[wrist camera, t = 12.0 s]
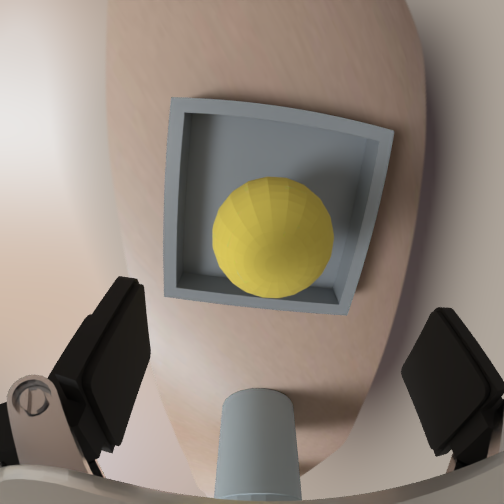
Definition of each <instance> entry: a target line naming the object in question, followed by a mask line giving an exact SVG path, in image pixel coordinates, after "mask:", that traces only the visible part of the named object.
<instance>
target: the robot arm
mask: <svg viewBox="0 0 504 504" xmlns="http://www.w3.org/2000/svg"><path fill="white" fill-rule="evenodd" d="M150 354H151V349H150V341H149V333H148V324H147V314H146V304H145V292H144V286H143V285H142V284H139V282H138V280H137V279H135V278H128V277H122V276H119V277H118V278H117V279H116V280H115V282H114V283H113V285H112V286H111V287H110V289H109V290H108V292H107V293H106V294H105V296H104V297H103V299H102V300H101V302H100V303H99V305H98V306H97V308H96V309H95V311H94V312H93V314H91V315H88V316H87V317H86V318H85V319H84V321H83V322H82V324H81V325H80V327H79V329H78V330H77V332H76V333H75V335H74V336H73V338H72V339H71V341H70V342H69V344H68V345H67V347H66V349H65V350H64V352H63V353H62V355H61V357H60V358H59V360H58V361H57V363H56V365H55V366H54V368H53V370H52V372H51V373H50V375H49V377H48V378H45V377H43V376H39V375H28V376H25V377H23V378H20V379H19V380H17V381H16V382H15V383H14V384H13V385H12V386H11V388H10V389H9V392H8V395H7V402H5V403H2V404H0V504H504V399H502V397H501V396H502V395H503V394H504V381H503V380H502V378H501V376H500V375H499V373H498V372H497V370H496V369H495V367H494V366H493V364H492V363H491V361H490V360H489V358H488V357H487V355H486V354H485V352H484V351H483V349H482V348H481V346H480V345H479V344H478V342H477V341H476V339H475V338H474V337H473V336H472V334H471V332H470V331H469V330H468V328H467V327H466V326H465V324H464V323H463V322H462V320H461V319H460V318H459V316H458V315H457V314H456V313H455V311H454V310H453V309H452V308H442V307H441V308H440V307H438V308H436V309H435V310H434V312H432V313H431V314H430V316H429V318H428V320H427V322H426V324H425V326H424V328H423V330H422V332H421V334H420V336H419V338H418V340H417V341H416V343H415V345H414V347H413V349H412V351H411V353H410V354H409V356H408V358H407V359H406V361H405V363H404V365H403V367H402V371H401V374H402V378H403V380H404V382H405V384H406V387H407V389H408V392H409V394H410V397H411V399H412V401H413V404H414V406H415V409H416V411H417V414H418V416H419V419H420V422H421V424H422V427H423V429H424V432H425V435H426V437H427V440H428V443H429V445H430V447H431V449H433V450H434V453H435V456H440V455H444V454H447V453H448V452H449V451H450V450H452V451H453V454H452V457H451V460H450V463H449V466H448V469H447V472H446V474H443V475H440V476H437V477H434V478H430V479H427V480H423V481H420V482H416V483H412V484H409V485H405V486H400V487H396V488H392V489H387V490H382V491H377V492H372V493H366V494H359V495H353V496H346V497H338V498H328V499H317V500H303V501H302V500H301V501H242V500H227V499H216V498H207V497H198V496H191V495H183V494H177V493H170V492H165V491H159V490H154V489H150V488H145V487H140V486H136V485H132V484H128V483H124V482H119V481H115V480H111V479H107V478H106V477H105V475H104V473H103V471H102V469H101V467H100V465H99V464H98V461H97V458H99V456H100V453H101V450H103V451H106V452H109V453H113V450H114V447H115V445H116V446H119V445H121V442H122V440H123V437H124V433H125V430H126V427H127V424H128V421H129V418H130V415H131V412H132V409H133V405H134V403H135V399H136V397H137V394H138V391H139V388H140V385H141V382H142V379H143V377H144V374H145V371H146V368H147V365H148V363H149V360H150Z"/></svg>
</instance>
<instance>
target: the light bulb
mask: <svg viewBox="0 0 504 504" xmlns="http://www.w3.org/2000/svg"><path fill="white" fill-rule="evenodd" d="M212 237H213V250H214V253H215V256H216V259H217V262H218V264H219V267H220V268H221V270H222V271H223V272H224V273H225V275H226V276H227V277H228V278H229V280H230V281H231V282H232V283H233V284H235V285H236V286H237V287H239V288H240V289H242V290H243V291H245V292H247V293H250V294H253V295H256V296H259V297H263V298H282V297H287V296H291V295H295V294H296V293H298V292H300V291H302V290H304V289H306V288H307V287H309V286H311V285H312V284H313V283H314V282H315V281H316V280H317V279H318V278H319V277H320V276H321V275H322V273H323V271H324V269H325V267H326V265H327V264H328V262H329V260H330V258H331V254H332V248H333V242H334V233H333V227H332V222H331V217H330V215H329V213H328V211H327V209H326V208H325V206H324V204H323V203H322V201H321V199H320V198H319V197H318V196H317V195H315V194H314V193H313V192H312V191H311V190H310V189H308V188H307V187H306V186H305V185H303V184H301V183H298V182H296V181H293V180H291V179H288V178H284V177H268V176H267V177H263V178H259V179H255V180H251V181H248V182H246V183H245V184H243V185H242V186H240V187H239V188H237V189H236V190H234V191H232V193H231V194H230V195H229V196H228V198H227V199H226V200H225V201H224V203H223V204H222V205H221V206H220V208H219V210H218V213H217V216H216V218H215V221H214V224H213V229H212Z"/></svg>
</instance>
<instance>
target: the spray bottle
mask: <svg viewBox="0 0 504 504" xmlns="http://www.w3.org/2000/svg"><path fill="white" fill-rule="evenodd" d="M214 498H216V499H227V500H242V501H301V500H302V497H301V484H300V473H299V462H298V451H297V440H296V430H295V420H294V410H293V404H292V402H291V400H290V399H289V398H288V397H287V396H286V395H285V394H282V393H280V392H278V391H275V390H270V389H253V388H252V389H247V390H241V391H239V392H236V393H234V394H232V395H231V396H229V397H228V398H227V399H226V400H225V402H224V404H223V408H222V418H221V429H220V439H219V450H218V461H217V472H216V483H215V494H214Z"/></svg>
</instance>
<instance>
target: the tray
mask: <svg viewBox="0 0 504 504" xmlns="http://www.w3.org/2000/svg"><path fill="white" fill-rule="evenodd" d="M393 136H394V131H393V130H389V129H386V128H382V127H378V126H375V125H371V124H367V123H363V122H359V121H355V120H350V119H346V118H342V117H337V116H332V115H327V114H322V113H317V112H312V111H306V110H301V109H295V108H288V107H282V106H275V105H267V104H259V103H251V102H241V101H231V100H219V99H203V98H180V97H171V105H170V115H169V126H168V138H167V152H166V169H165V190H164V229H163V263H164V297H171V298H178V299H185V300H193V301H200V302H208V303H216V304H225V305H234V306H243V307H252V308H262V309H272V310H283V311H294V312H306V313H319V314H333V315H347V314H348V311H349V308H350V305H351V302H352V299H353V296H354V293H355V290H356V287H357V284H358V281H359V278H360V274H361V271H362V268H363V264H364V261H365V258H366V254H367V251H368V247H369V243H370V240H371V236H372V232H373V229H374V225H375V221H376V217H377V213H378V209H379V204H380V200H381V196H382V192H383V187H384V183H385V178H386V173H387V168H388V163H389V158H390V153H391V147H392V142H393ZM267 176H268V177H284V178H288V179H291V180H293V181H296V182H298V183H301V184H303V185H305V186H306V187H307V188H308V189H310V190H311V191H312V192H313V193H314V194H315V195H317V196H318V197H319V198H320V199H321V201H322V203H323V204H324V206H325V208H326V209H327V211H328V213H329V215H330V217H331V222H332V227H333V233H334V242H333V248H332V254H331V258H330V260H329V262H328V264H327V265H326V267H325V269H324V271H323V273H322V275H321V276H320V277H319V278H318V279H317V280H316V281H315V282H314V283H313V284H312V285H311V286H309V287H307V288H306V289H304V290H302V291H300V292H298V293H296V294H295V295H291V296H287V297H282V298H263V297H259V296H256V295H253V294H250V293H247V292H245V291H243V290H242V289H240V288H239V287H237V286H236V285H235V284H233V283H232V282H231V281H230V280H229V278H228V277H227V276H226V275H225V273H224V272H223V271H222V270H221V268H220V267H219V264H218V262H217V259H216V256H215V253H214V250H213V237H212V229H213V224H214V221H215V218H216V216H217V213H218V210H219V208H220V206H221V205H222V204H223V203H224V201H225V200H226V199H227V198H228V196H229V195H230V194H231V193H232V191H234V190H236V189H237V188H239V187H240V186H242V185H243V184H245V183H246V182H248V181H251V180H255V179H259V178H263V177H267Z"/></svg>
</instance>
